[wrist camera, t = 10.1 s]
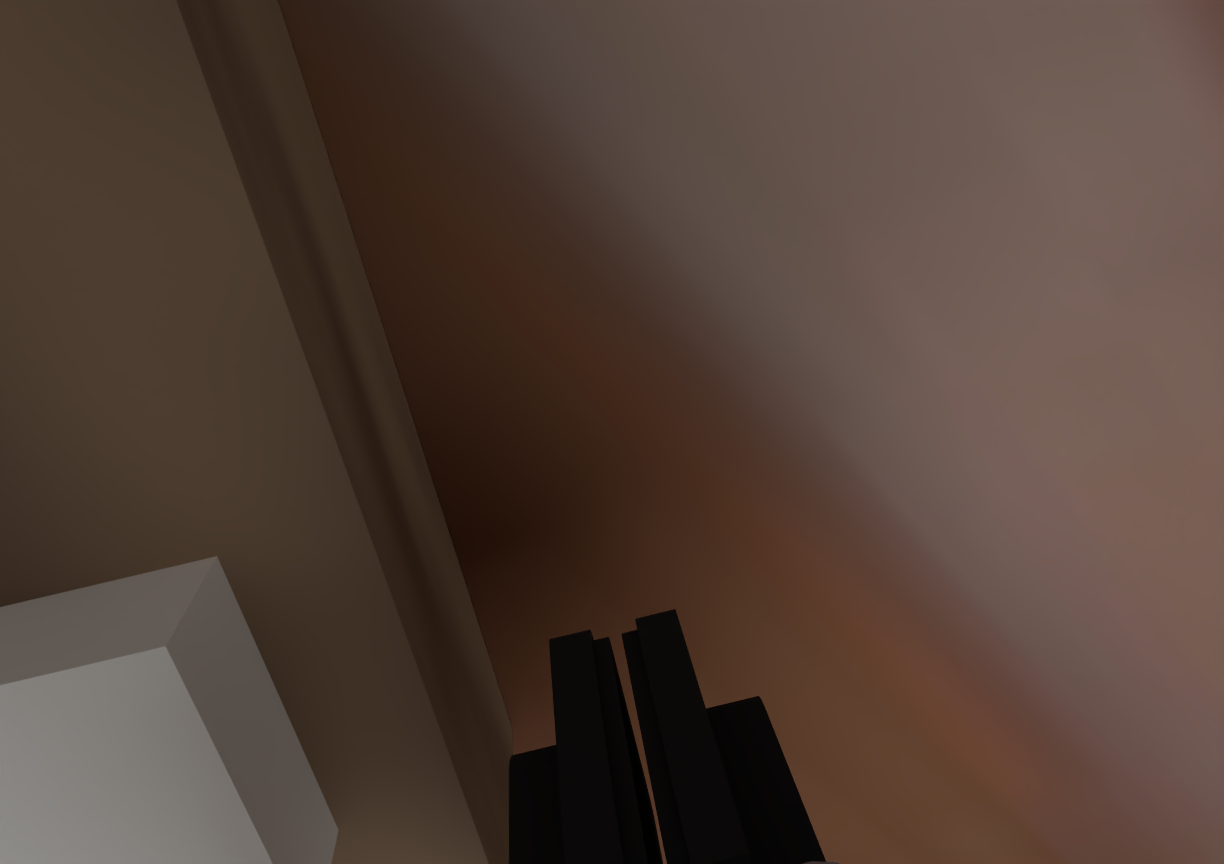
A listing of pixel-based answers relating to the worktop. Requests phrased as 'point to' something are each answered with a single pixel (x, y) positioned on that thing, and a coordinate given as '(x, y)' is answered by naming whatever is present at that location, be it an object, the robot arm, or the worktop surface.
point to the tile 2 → (149, 731)
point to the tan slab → (232, 400)
